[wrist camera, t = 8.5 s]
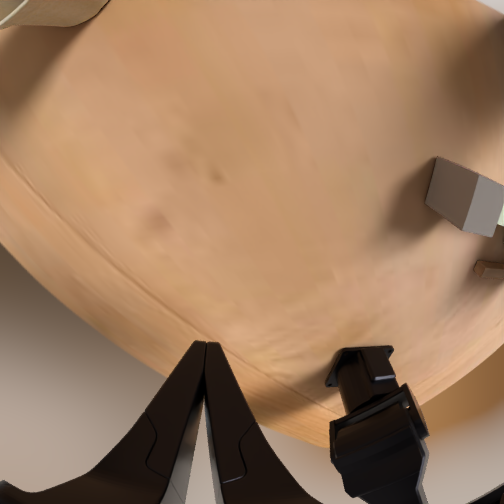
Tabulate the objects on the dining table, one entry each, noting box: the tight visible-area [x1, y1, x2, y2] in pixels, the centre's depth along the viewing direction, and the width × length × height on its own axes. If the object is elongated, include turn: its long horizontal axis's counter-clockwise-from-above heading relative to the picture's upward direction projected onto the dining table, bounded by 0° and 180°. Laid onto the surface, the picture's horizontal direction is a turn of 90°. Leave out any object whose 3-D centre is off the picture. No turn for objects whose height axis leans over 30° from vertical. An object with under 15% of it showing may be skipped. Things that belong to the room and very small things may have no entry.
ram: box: [425, 156, 504, 244], centre depth 17 cm, size 8×15×5 cm, turn 83°
